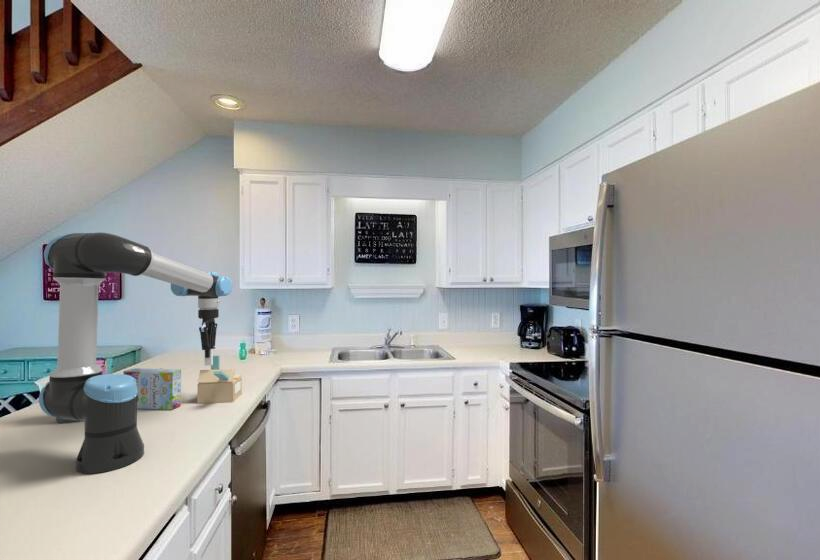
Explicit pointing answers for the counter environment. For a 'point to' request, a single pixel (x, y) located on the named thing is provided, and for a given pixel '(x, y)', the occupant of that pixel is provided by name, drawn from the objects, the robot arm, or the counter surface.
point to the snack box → (157, 388)
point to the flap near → (216, 376)
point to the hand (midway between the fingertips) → (208, 364)
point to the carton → (219, 391)
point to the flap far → (217, 365)
